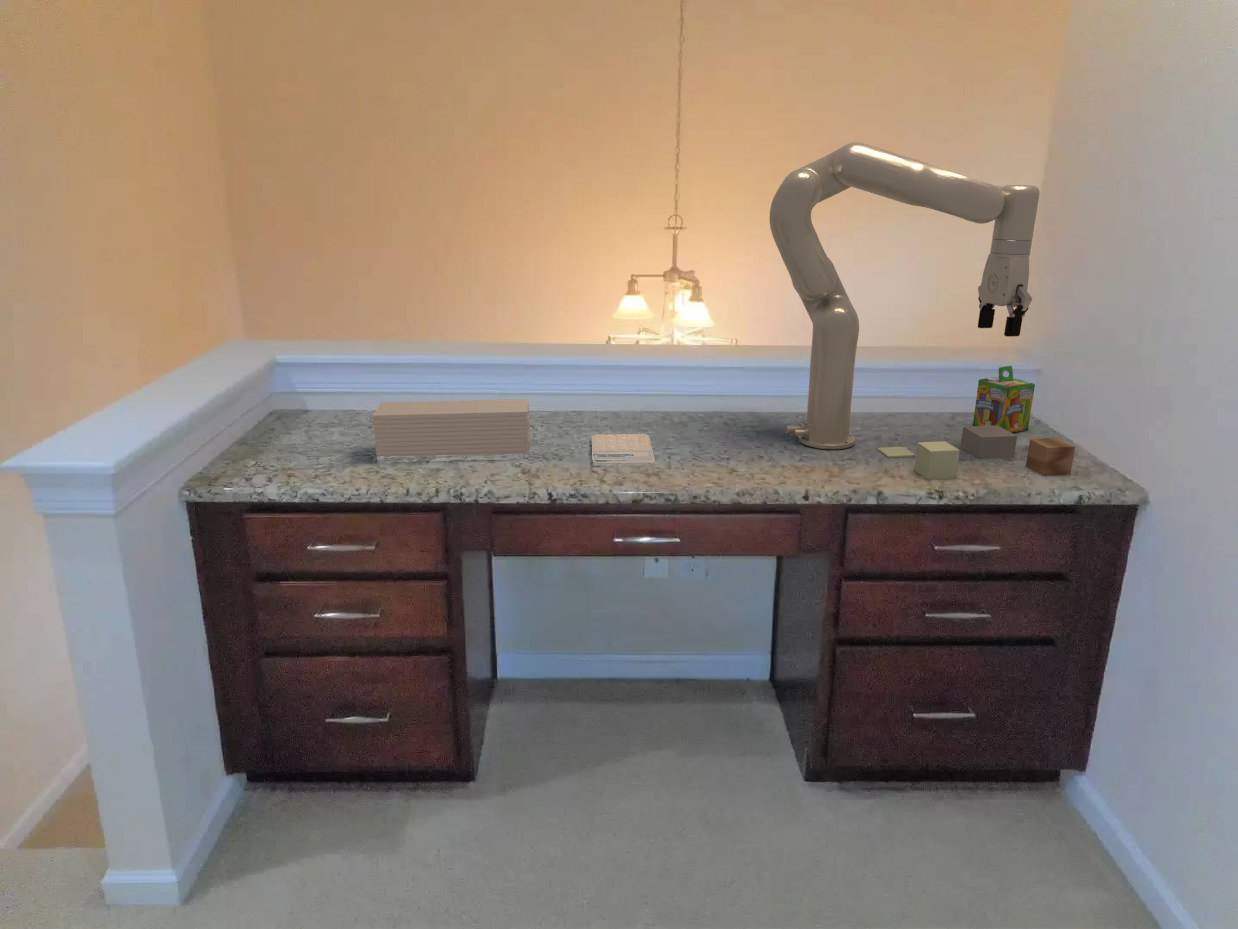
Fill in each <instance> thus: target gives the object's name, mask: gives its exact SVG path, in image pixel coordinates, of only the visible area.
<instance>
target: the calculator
mask: <svg viewBox="0 0 1238 929" xmlns="http://www.w3.org/2000/svg"><path fill="white" fill-rule="evenodd" d="M590 441H591V442H592V443H590V444H592V455H591V461H592V460H593V462H595V463H644V464H647V463H654V462H655V463H656V458H655V455H654V451H653V447H652V446H653V445H652V442H651V438H650V435H648V434H646V433H637V434H635V433H627V434H623V433H618V434H612V433H611V434H610V433H609V434H608V433H607V434H600V433H599V434H597V433H596V434H593V435H591V439H590ZM593 454H633V455H634V456H625V457H597V455H595V456H593ZM594 460H626V461H607V462H596V461H594Z"/></svg>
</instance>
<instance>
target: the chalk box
mask: <svg viewBox="0 0 1238 929" xmlns="http://www.w3.org/2000/svg"><path fill="white" fill-rule="evenodd" d="M1013 371H1014V370H1013V366H1012V365H1007V366H1000V367H998V376H994V377H986V378H981V379H978V381H977V382H978V383H977V391H976V397H975V398H976V399H975V407H974V414H973V421H972V426H997V425H998V426H1000V427H1001V428H1003V429H1005V430H1007V431H1009V432H1011V433H1013V434H1014V433H1017V432H1024V430H1026V431H1028V430H1029V424H1030V419H1031V411H1032V405H1033V400H1034V393H1035V387H1036V384H1035V383H1033V382H1029V381H1025V380H1023V379H1019V378H1014V373H1013ZM1005 372H1007V373H1008V376H1004V373H1005Z"/></svg>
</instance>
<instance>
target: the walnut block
mask: <svg viewBox="0 0 1238 929" xmlns="http://www.w3.org/2000/svg"><path fill="white" fill-rule="evenodd" d="M1075 451H1076V446H1075V445H1074V444H1070V443H1069V442H1066V441H1064V440H1063V439H1061V438H1058V437H1050V438H1049V437H1048V438H1030V439H1029V444H1028V450H1027V456H1026V462H1025V463H1026V464H1025V467H1026V466H1027V467H1026V468H1028V467H1029V468H1028V469H1030V470H1031V469H1032V470H1031V471H1033V472H1035V473H1037V472H1038V473H1037V474H1039V475H1040V474H1041V475H1040V476H1042V477H1046V476H1047V475H1051V476H1065V475H1064V474H1070V475H1071V472H1072V469H1073V468H1072V467H1073V462H1074V456H1075ZM1047 477H1048V476H1047Z"/></svg>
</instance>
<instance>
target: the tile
mask: <svg viewBox="0 0 1238 929" xmlns="http://www.w3.org/2000/svg"><path fill="white" fill-rule="evenodd" d="M876 450H877V451H878V452H880V453H881V454H882V455H883V456H885V457H886V458H888V459H895V458H896V459H897V458H898V459H899V458H916V454H915V453H913V452H912V451H910V450H908V448H906V447H904V446H891V447H890V446H889V447H887V446H886V447H885V446H884V447H876Z"/></svg>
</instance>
